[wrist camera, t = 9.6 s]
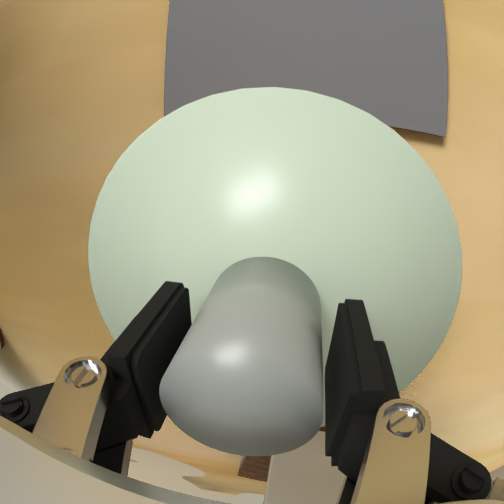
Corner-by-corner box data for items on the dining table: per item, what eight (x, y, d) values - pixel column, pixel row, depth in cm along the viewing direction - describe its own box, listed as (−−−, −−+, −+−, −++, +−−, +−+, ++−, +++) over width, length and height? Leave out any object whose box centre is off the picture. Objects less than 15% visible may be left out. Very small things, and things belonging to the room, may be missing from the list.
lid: (88, 104, 10) (-32, 112, 5) (479, 123, 8) (595, 136, 3) (131, 389, 16) (84, 466, 11) (395, 420, 14) (409, 513, 9)
